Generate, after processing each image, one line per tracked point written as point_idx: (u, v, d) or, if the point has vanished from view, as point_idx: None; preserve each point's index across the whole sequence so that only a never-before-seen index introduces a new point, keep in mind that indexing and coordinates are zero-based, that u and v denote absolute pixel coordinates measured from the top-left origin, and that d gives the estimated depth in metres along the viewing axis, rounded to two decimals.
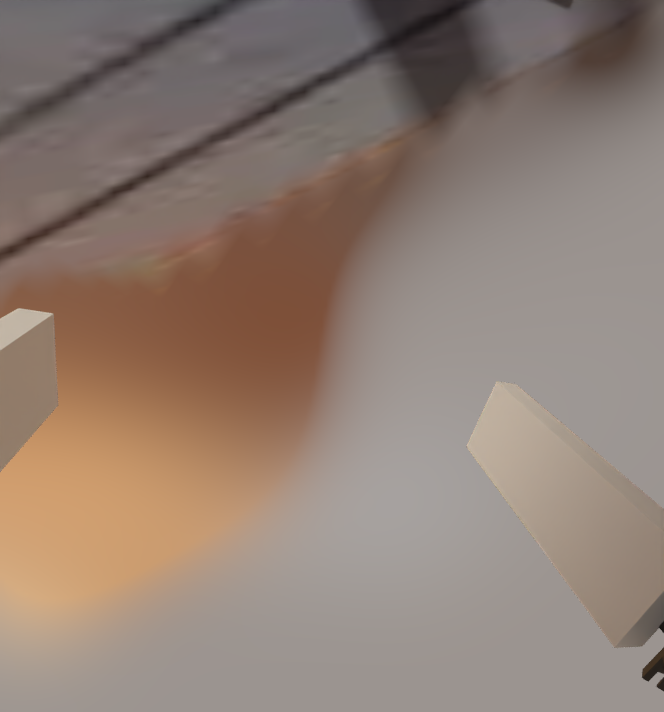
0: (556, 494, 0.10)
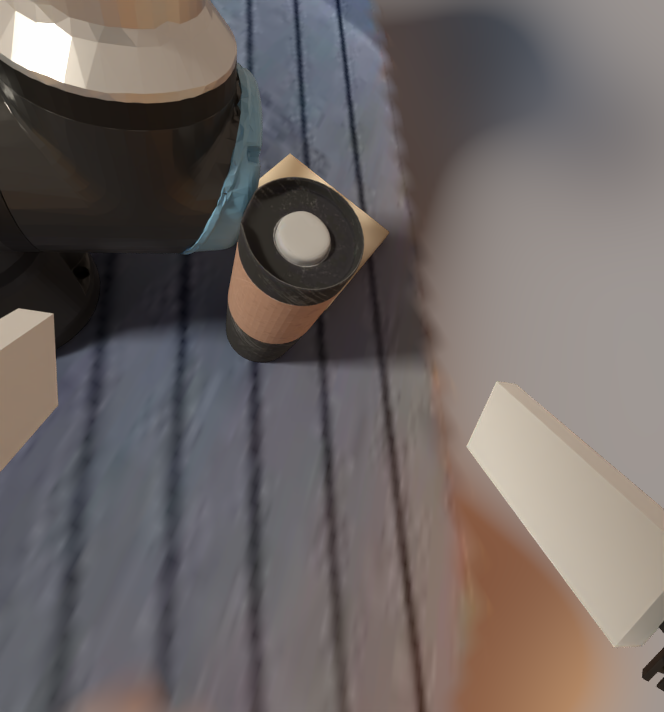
0: (556, 494, 0.10)
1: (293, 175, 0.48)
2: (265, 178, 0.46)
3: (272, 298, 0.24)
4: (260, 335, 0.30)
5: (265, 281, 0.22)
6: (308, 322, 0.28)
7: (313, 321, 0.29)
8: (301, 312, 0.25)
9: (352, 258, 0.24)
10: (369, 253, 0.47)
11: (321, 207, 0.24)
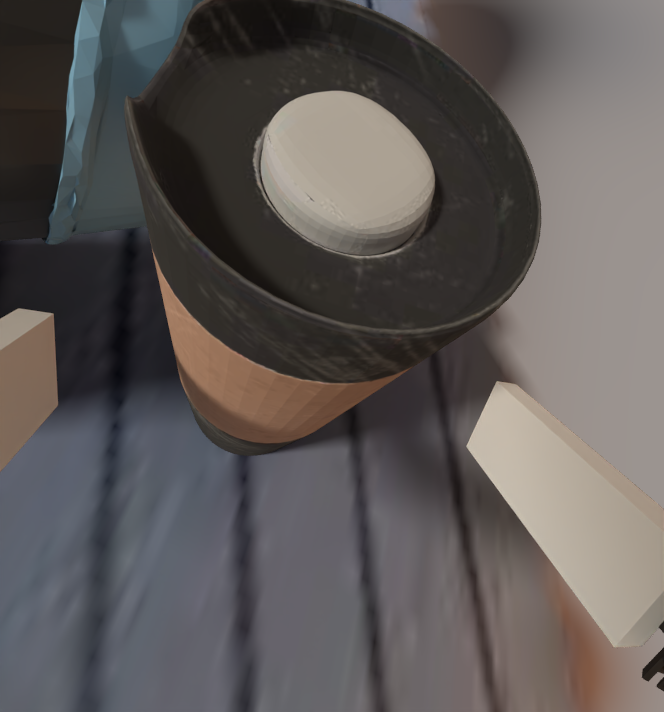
0: (556, 494, 0.10)
1: None
2: None
3: (260, 365, 0.07)
4: (242, 433, 0.14)
5: (225, 310, 0.06)
6: None
7: None
8: (346, 396, 0.09)
9: (495, 232, 0.08)
10: None
11: (391, 99, 0.09)
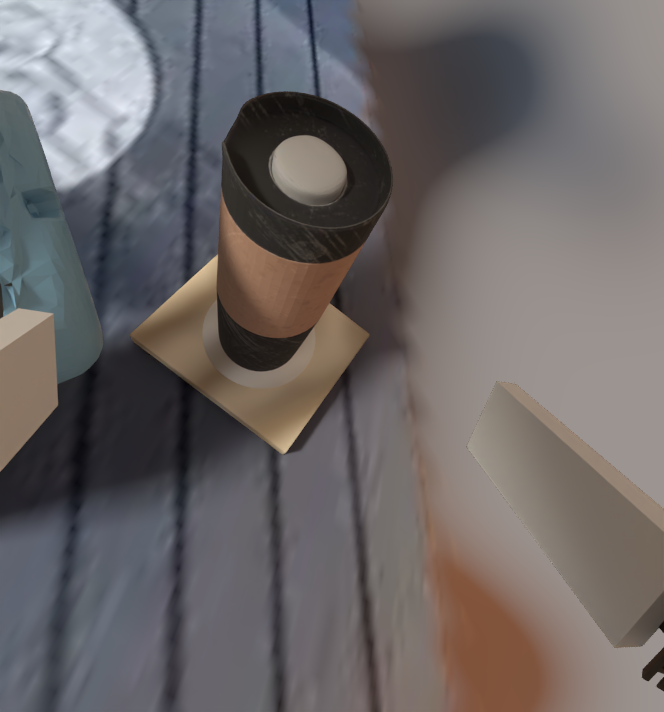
0: (556, 494, 0.10)
1: None
2: (204, 272, 0.35)
3: (270, 252, 0.17)
4: (257, 324, 0.24)
5: (258, 221, 0.16)
6: (319, 300, 0.22)
7: (325, 301, 0.23)
8: (310, 277, 0.19)
9: (377, 197, 0.18)
10: (343, 368, 0.36)
11: (332, 136, 0.18)
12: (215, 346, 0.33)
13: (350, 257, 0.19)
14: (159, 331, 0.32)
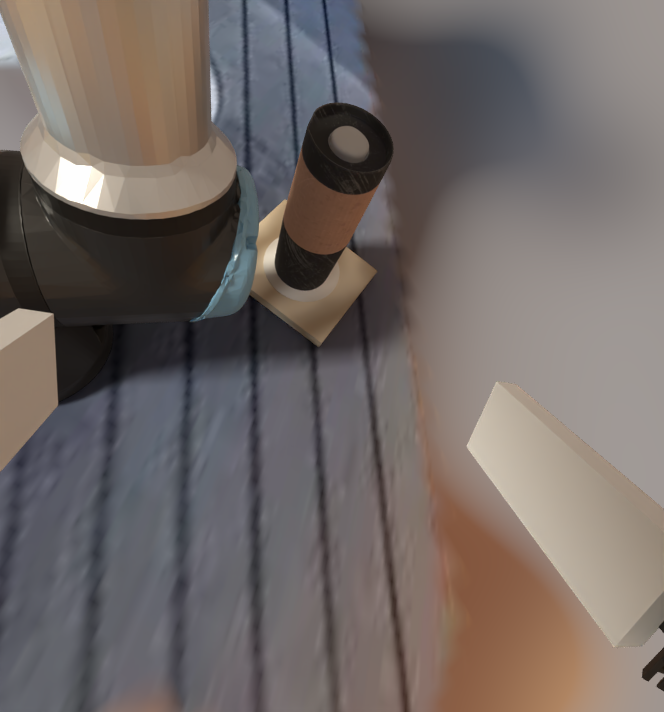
0: (556, 494, 0.10)
1: None
2: (262, 224, 0.50)
3: (329, 188, 0.32)
4: (311, 242, 0.39)
5: (325, 169, 0.31)
6: (350, 224, 0.37)
7: (353, 227, 0.38)
8: (348, 204, 0.34)
9: (385, 159, 0.33)
10: (358, 292, 0.51)
11: (360, 126, 0.34)
12: (272, 273, 0.48)
13: (370, 193, 0.34)
14: None
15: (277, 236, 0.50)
